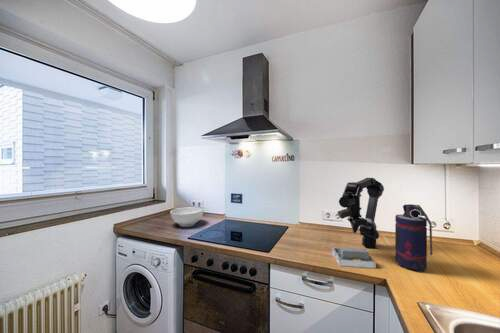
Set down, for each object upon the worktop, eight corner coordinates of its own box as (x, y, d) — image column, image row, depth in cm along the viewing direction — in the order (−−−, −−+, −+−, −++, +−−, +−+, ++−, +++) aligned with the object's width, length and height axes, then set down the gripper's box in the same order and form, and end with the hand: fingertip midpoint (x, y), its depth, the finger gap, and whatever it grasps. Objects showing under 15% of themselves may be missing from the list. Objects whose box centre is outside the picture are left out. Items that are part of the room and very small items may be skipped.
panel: (365, 260, 100) (365, 249, 100) (368, 264, 96) (368, 252, 96) (340, 259, 102) (340, 247, 102) (342, 262, 98) (342, 250, 98)
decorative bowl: (162, 228, 155) (162, 212, 155) (183, 219, 181) (183, 206, 181) (192, 231, 147) (192, 215, 147) (209, 221, 173) (209, 208, 173)
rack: (362, 254, 109) (362, 248, 109) (375, 268, 94) (375, 261, 94) (331, 252, 111) (331, 246, 111) (339, 265, 96) (339, 258, 96)
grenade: (393, 265, 96) (393, 204, 96) (397, 258, 104) (397, 201, 104) (431, 277, 86) (431, 209, 86) (433, 267, 95) (433, 205, 95)
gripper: (334, 201, 120) (334, 227, 121) (344, 208, 102) (345, 238, 102) (353, 201, 119) (353, 227, 119) (367, 208, 100) (368, 239, 101)
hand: (354, 232), depth 110 cm, fingers closed
